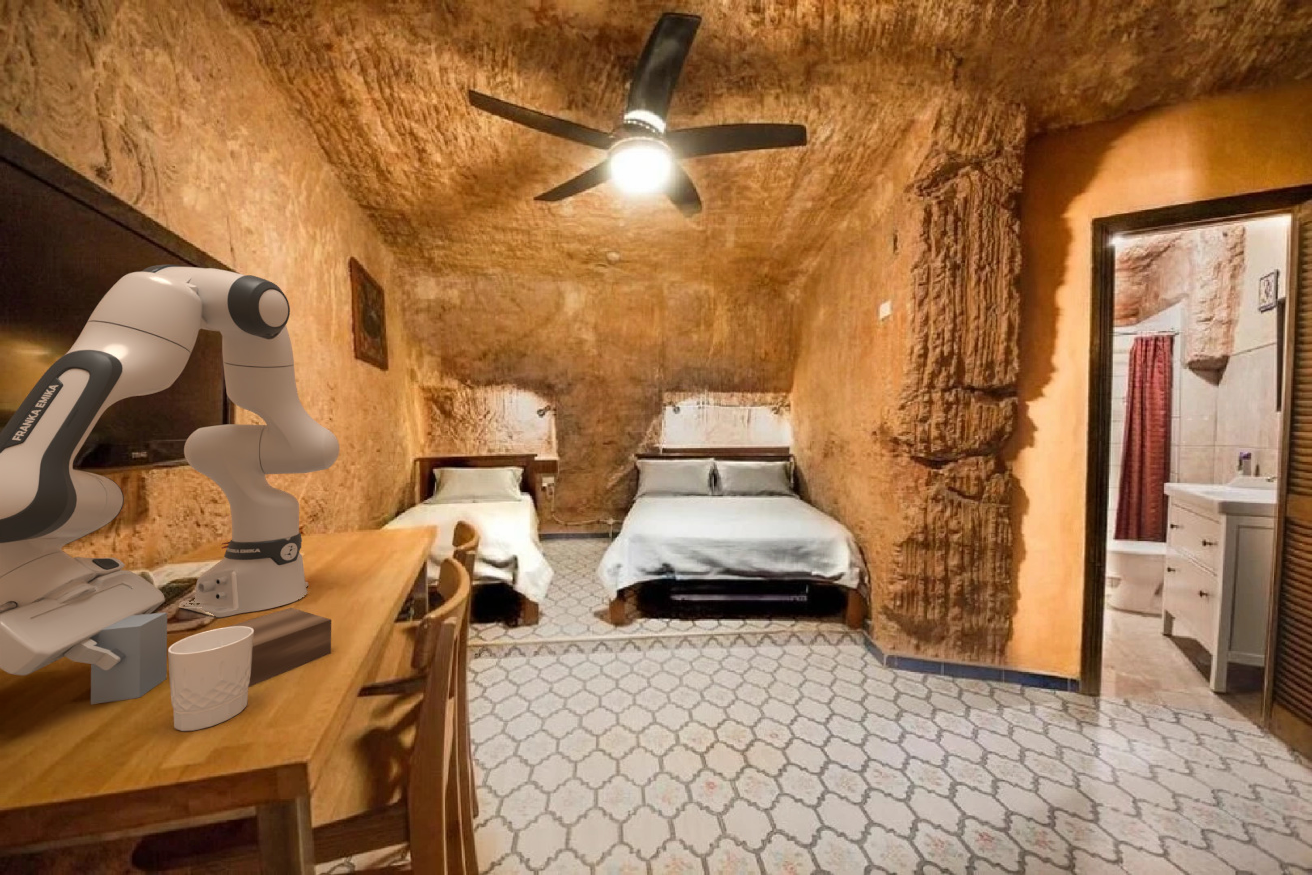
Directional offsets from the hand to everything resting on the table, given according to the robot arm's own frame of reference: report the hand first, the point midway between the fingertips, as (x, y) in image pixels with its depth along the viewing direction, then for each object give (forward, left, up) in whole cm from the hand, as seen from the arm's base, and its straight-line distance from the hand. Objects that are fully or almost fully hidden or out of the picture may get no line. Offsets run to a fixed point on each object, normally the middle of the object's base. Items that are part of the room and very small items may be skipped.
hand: (136, 652), depth 62 cm
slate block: (-1, 0, -5) cm, 5 cm away
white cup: (+17, -3, -6) cm, 18 cm away
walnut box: (+10, +10, -6) cm, 15 cm away
